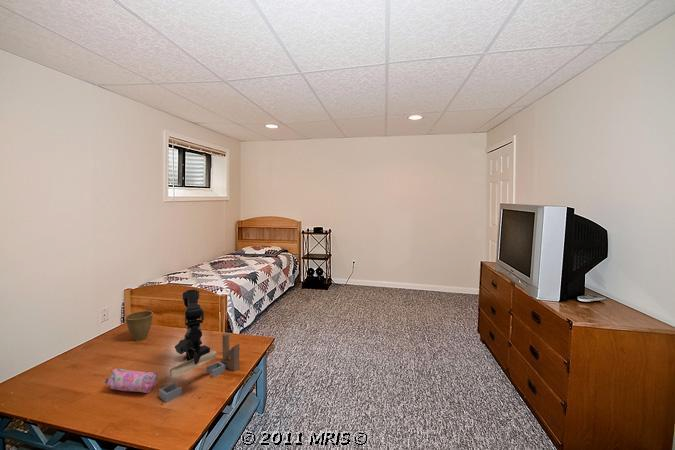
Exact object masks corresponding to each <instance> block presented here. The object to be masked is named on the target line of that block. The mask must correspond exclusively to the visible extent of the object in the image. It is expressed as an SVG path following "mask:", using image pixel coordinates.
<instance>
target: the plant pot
mask: <svg viewBox="0 0 675 450" xmlns="http://www.w3.org/2000/svg"><path fill="white" fill-rule="evenodd" d="M153 315H154V312H153V311H151V310H141V311H137V312H132V313H129V314H128V315H126V316H125V322H126V325H127V328H128V331H129V333H130V336H131V337H132V340H134V341H136V342H137V341H142V340H146V339H147V338H148V336H149V332H150V329H151V326H152V321H153Z"/></svg>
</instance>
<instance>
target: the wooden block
mask: <svg viewBox="0 0 675 450" xmlns="http://www.w3.org/2000/svg"><path fill="white" fill-rule="evenodd" d="M230 344H231V343H230V333H229V332H224V333H222V359H221V361H220V362H221V363H222V364H224V365H225V369H228V370H230V371H233V372H235V371H238V370H239V369H240V343H237V344H236V345H234V346H232V348H231V349H230Z"/></svg>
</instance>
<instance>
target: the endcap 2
mask: <svg viewBox="0 0 675 450" xmlns="http://www.w3.org/2000/svg"><path fill="white" fill-rule="evenodd" d="M224 372H226V367H225V365H224V364H222V363H221V361H219V360H217V361H216V362H214V363H211V364H209V365H207V366H205V374H206V375H208V374H210V373H211V377H212V378H215V377H218V376H219V375H221V374H222V373H224Z"/></svg>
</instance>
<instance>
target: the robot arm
mask: <svg viewBox="0 0 675 450" xmlns="http://www.w3.org/2000/svg"><path fill="white" fill-rule="evenodd" d="M181 295H182V301H183V305H184V307H186V309H185V311H184V323H185V324H184V326H186V329H187V331H186V332H185V334H184V336H183V337H184V338H183V339H180V340H179V342H178V343H177V344H175V346H174V349H175V351H176V353H178V354H179V355H183V354H185V356H183V357H182V358H183V359H184V360H186V361H189V360H192V359H194V363H195V365H196V364H198V361H199V359H200V357H201V356H203V355H205V354H207V353H209V352H210V351H211V347H209V346H207V345H206V344H204V345H203V341H202V339H201V338H202V336H203V332H202V328H201V324H203V323H204V320H205V315H204V310H203V308H202V307H201V304H198V303H199V299H200V290H197V289H196V288H194V289H193V288H192V289H187V290H186V291H184V292H182V294H181Z"/></svg>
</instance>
